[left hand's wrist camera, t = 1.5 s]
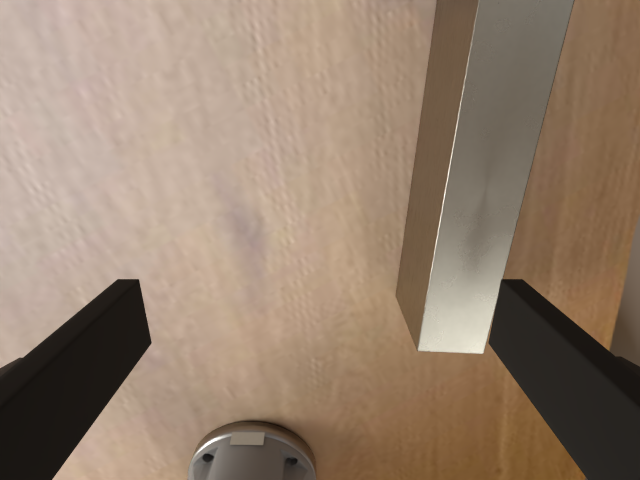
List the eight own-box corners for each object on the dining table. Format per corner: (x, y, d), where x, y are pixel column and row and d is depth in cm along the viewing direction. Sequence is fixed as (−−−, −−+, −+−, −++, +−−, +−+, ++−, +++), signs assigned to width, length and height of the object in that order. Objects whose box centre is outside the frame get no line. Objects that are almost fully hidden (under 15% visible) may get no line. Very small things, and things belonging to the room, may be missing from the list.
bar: (446, 298, 35) (483, 354, 27) (395, 296, 35) (416, 351, 27) (507, -7, 26) (589, -58, 18) (438, -11, 26) (489, -63, 18)
